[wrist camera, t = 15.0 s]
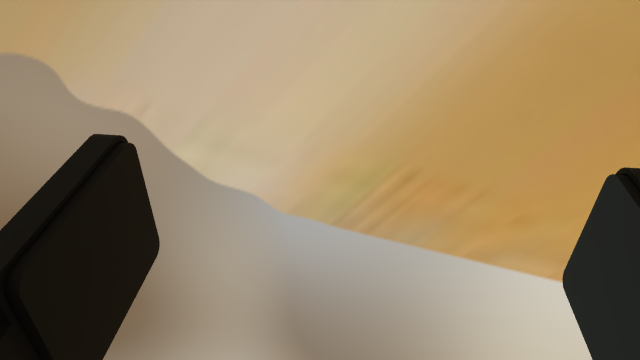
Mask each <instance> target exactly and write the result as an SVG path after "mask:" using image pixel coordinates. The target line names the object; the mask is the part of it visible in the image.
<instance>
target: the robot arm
mask: <svg viewBox="0 0 640 360" xmlns="http://www.w3.org/2000/svg"><path fill="white" fill-rule="evenodd" d="M158 251H159V236H158V233H157V229H156V225H155V221H154V217H153V213H152V209H151V205H150V201H149V197H148V193H147V189H146V186H145V181H144V178H143V174H142V170H141V166H140V162H139V158H138V154H137V150H136V147H135V146H134V145H133V144H132V143H128V141H127V139H126V138H125V137H123V136H120V135H119V136H118V135H103V134H94V135H92V136H90V137H89V138H88V139H87V141H85V142H84V143H83V145H82V146H81V147H80V148H79V149H78V150H77V151H76V152H75V153H74V154H73V155H72V156H71V157H70V158H69V159H68V160H67V161H66V162H65V163H64V165H63V166H62V167H61V168H60V169H59V170H58V171H57V172H56V173H55V174H54V175H53V176H52V177H51V178H50V179H49V180H48V181H47V182H46V183H45V184H44V186H42V187H41V189H40V190H39V191H38V192H37V193H36V194H35V195H34V196H33V197H32V198H31V199H30V200H29V201H28V202H27V203H26V204H25V205H24V206H23V207H22V209H20V211H19V212H18V213H17V214H16V215H15V216H14V217H13V218H12V219H11V220H10V221H9V222H8V223H7V224H6V225H5V226H4V227H3V228H2V229H1V230H0V360H103V358H104V356H105V354H106V352H107V350H108V348H109V347H110V344H111V343H112V341H113V339H114V337H115V335H116V333H117V331H118V329H119V328H120V326H121V324H122V322H123V320H124V318H125V316H126V314H127V312H128V310H129V308H130V306H131V305H132V303H133V301H134V299H135V297H136V295H137V293H138V291H139V289H140V288H141V286H142V284H143V282H144V280H145V278H146V276H147V274H148V272H149V270H150V268H151V267H152V265H153V263H154V261H155V259H156V257H157V255H158ZM563 287H564V290H565V293H566V296H567V298H568V300H569V303H570V305H571V308H572V310H573V313H574V315H575V318H576V320H577V322H578V325H579V327H580V330H581V332H582V335H583V337H584V340H585V342H586V344H587V347H588V349H589V352H590V354H591V357H592V359H593V360H640V169H639V168H622V169H620V170H619V171H618V172H617V173H616V174H612V175H609V176H608V177H607V179H606V180H605V182H604V184H603V187H602V189H601V191H600V193H599V195H598V198H597V200H596V202H595V204H594V206H593V209H592V211H591V213H590V215H589V217H588V220H587V222H586V224H585V226H584V228H583V231H582V233H581V235H580V237H579V239H578V242H577V244H576V246H575V248H574V250H573V253H572V255H571V257H570V259H569V261H568V264H567V266H566V268H565V270H564V273H563Z"/></svg>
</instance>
